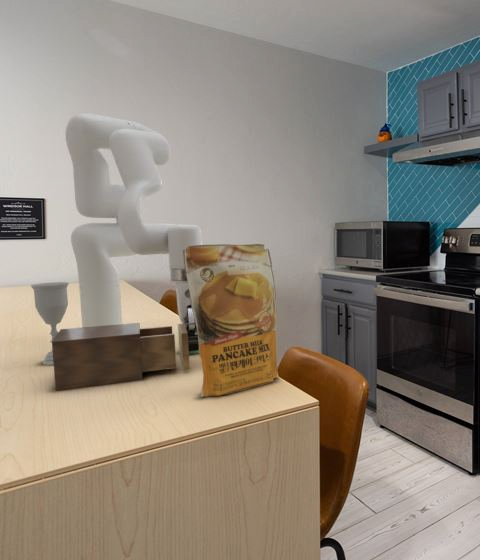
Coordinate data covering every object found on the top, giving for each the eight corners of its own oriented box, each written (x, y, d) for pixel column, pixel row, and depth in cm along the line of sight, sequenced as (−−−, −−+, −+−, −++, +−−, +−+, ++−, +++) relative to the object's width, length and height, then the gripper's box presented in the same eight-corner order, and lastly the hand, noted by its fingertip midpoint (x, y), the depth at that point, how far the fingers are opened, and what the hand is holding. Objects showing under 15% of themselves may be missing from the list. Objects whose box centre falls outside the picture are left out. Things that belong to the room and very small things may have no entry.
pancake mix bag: (182, 394, 95) (174, 245, 92) (272, 372, 109) (268, 242, 106) (199, 402, 91) (191, 246, 87) (290, 378, 105) (286, 243, 102)
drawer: (207, 353, 121) (205, 321, 120) (213, 365, 111) (211, 330, 110) (118, 363, 112) (115, 329, 111) (116, 377, 102) (113, 339, 101)
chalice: (54, 366, 113) (48, 286, 111) (29, 365, 114) (22, 285, 112) (82, 358, 120) (76, 282, 118) (58, 356, 121) (52, 281, 119)
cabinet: (142, 364, 115) (139, 322, 114) (142, 379, 104) (139, 333, 103) (64, 373, 108) (60, 329, 107) (55, 390, 97) (51, 341, 96)
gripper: (207, 278, 118) (211, 354, 120) (199, 271, 133) (203, 339, 135) (171, 279, 114) (176, 358, 117) (168, 272, 129) (171, 342, 131)
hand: (190, 347), depth 126 cm, fingers closed on can, 5 cm apart
